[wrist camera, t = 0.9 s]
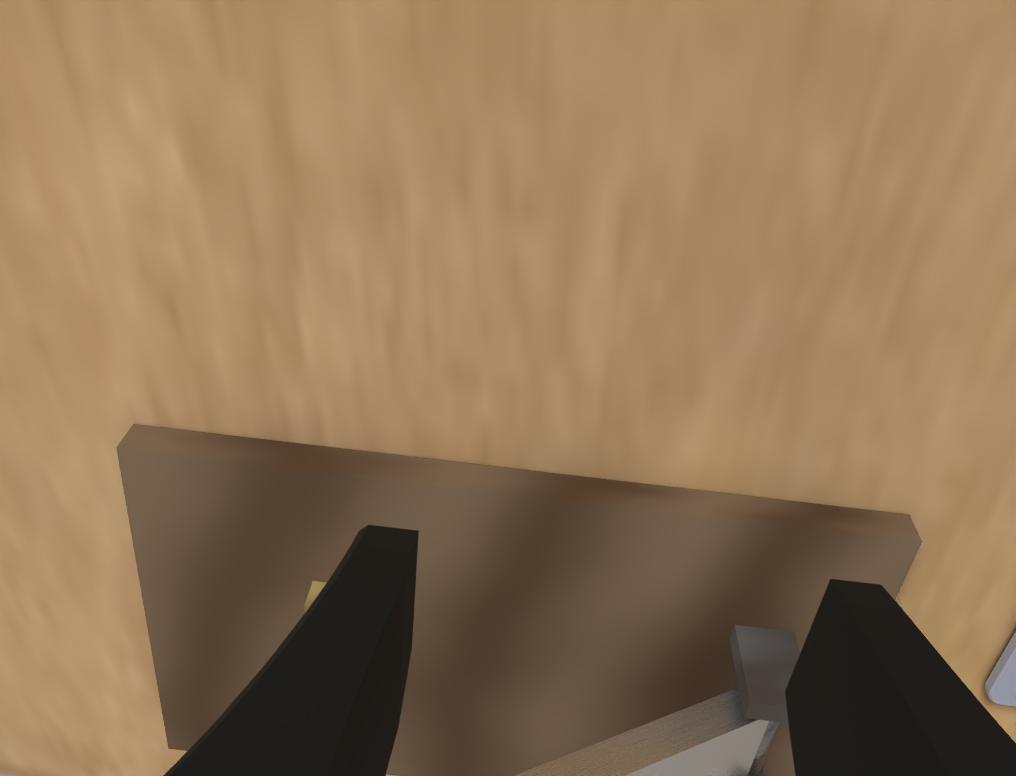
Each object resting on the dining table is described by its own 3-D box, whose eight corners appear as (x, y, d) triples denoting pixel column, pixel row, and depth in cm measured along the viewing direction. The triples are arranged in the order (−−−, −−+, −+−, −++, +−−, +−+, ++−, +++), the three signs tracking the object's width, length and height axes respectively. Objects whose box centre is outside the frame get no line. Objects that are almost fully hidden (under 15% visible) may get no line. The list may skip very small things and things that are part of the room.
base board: (909, 514, 23) (958, 617, 20) (785, 792, 29) (808, 901, 26) (133, 423, 23) (68, 513, 20) (180, 721, 29) (136, 822, 26)
